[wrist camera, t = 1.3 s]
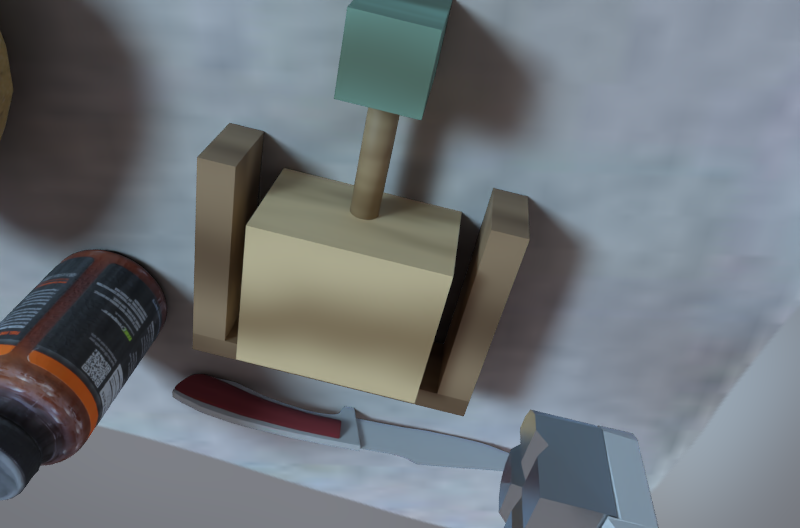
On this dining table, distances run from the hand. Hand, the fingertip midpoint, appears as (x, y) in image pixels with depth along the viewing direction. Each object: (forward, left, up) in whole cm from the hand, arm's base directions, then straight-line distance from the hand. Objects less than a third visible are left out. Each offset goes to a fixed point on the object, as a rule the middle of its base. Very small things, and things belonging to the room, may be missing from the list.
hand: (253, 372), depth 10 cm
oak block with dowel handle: (+6, 0, -18) cm, 19 cm away
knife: (+20, +2, -19) cm, 28 cm away
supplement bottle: (+16, -12, -19) cm, 28 cm away
